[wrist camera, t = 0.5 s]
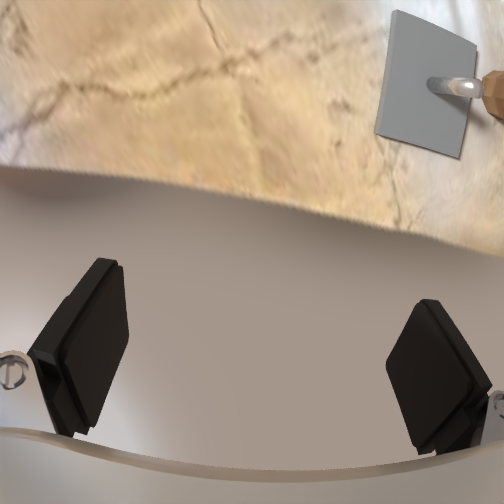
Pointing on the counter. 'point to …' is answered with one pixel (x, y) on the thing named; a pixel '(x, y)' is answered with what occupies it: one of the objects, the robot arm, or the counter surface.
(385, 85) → the rod board
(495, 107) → the walnut bead
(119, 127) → the counter surface
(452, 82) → the metal rod
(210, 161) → the counter surface
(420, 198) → the counter surface
